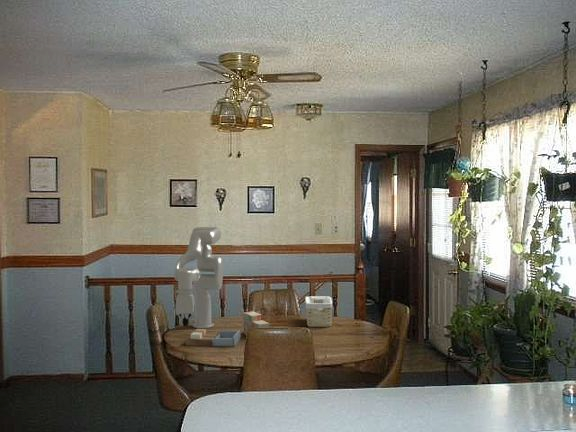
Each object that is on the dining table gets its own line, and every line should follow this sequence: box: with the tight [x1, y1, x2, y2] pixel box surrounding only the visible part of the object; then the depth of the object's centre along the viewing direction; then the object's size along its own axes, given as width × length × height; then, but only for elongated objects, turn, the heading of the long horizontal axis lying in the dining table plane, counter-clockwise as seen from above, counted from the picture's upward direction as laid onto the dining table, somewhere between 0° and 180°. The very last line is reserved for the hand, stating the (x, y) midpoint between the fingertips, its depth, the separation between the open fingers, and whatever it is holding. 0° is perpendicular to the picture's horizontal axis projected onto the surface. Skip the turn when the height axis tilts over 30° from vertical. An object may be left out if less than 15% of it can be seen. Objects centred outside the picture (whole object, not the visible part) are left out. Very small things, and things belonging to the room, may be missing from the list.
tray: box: [211, 328, 242, 348], centre depth 321 cm, size 18×12×5 cm, turn 173°
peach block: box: [194, 328, 207, 336], centre depth 327 cm, size 5×5×2 cm
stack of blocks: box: [242, 311, 270, 335], centre depth 334 cm, size 21×6×12 cm, turn 28°
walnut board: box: [184, 332, 219, 347], centre depth 323 cm, size 16×14×3 cm
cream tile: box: [190, 331, 202, 339], centre depth 319 cm, size 5×5×2 cm
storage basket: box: [304, 295, 333, 328], centre depth 366 cm, size 24×16×15 cm
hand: (185, 325), depth 327 cm, fingers closed
